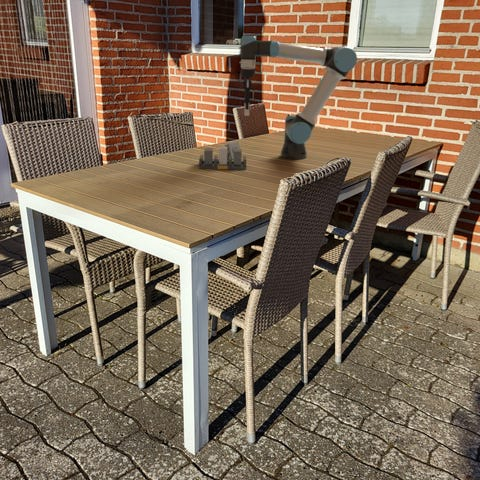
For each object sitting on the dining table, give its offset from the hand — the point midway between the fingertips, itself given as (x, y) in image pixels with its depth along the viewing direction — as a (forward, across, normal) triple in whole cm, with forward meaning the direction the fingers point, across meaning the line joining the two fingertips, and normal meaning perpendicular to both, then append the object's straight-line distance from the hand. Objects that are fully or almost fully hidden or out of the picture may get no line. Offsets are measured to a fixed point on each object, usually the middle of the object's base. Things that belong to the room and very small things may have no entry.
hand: (246, 115), depth 253 cm
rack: (+24, +15, -12) cm, 31 cm away
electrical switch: (+25, -6, -7) cm, 26 cm away
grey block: (+24, +15, -12) cm, 30 cm away
